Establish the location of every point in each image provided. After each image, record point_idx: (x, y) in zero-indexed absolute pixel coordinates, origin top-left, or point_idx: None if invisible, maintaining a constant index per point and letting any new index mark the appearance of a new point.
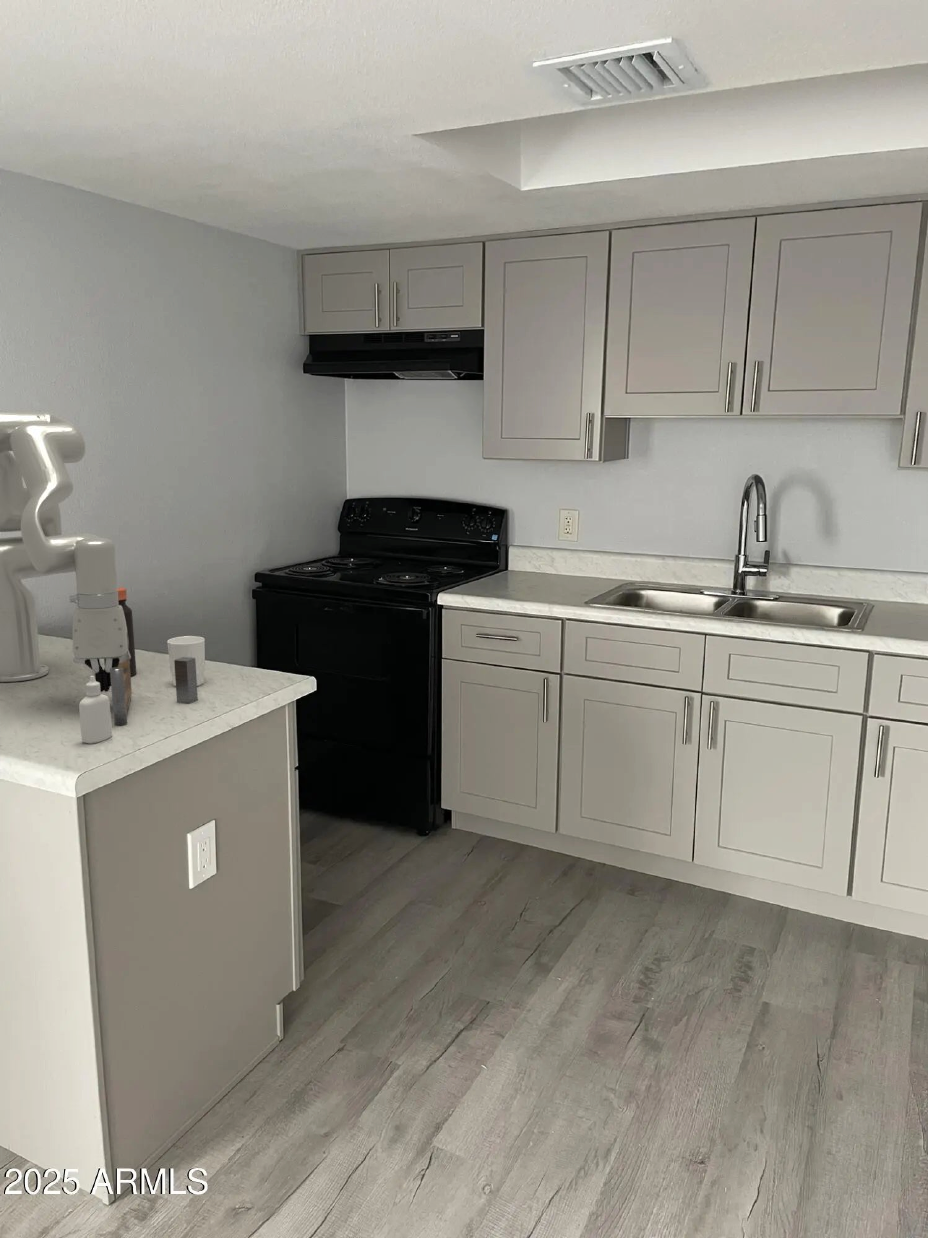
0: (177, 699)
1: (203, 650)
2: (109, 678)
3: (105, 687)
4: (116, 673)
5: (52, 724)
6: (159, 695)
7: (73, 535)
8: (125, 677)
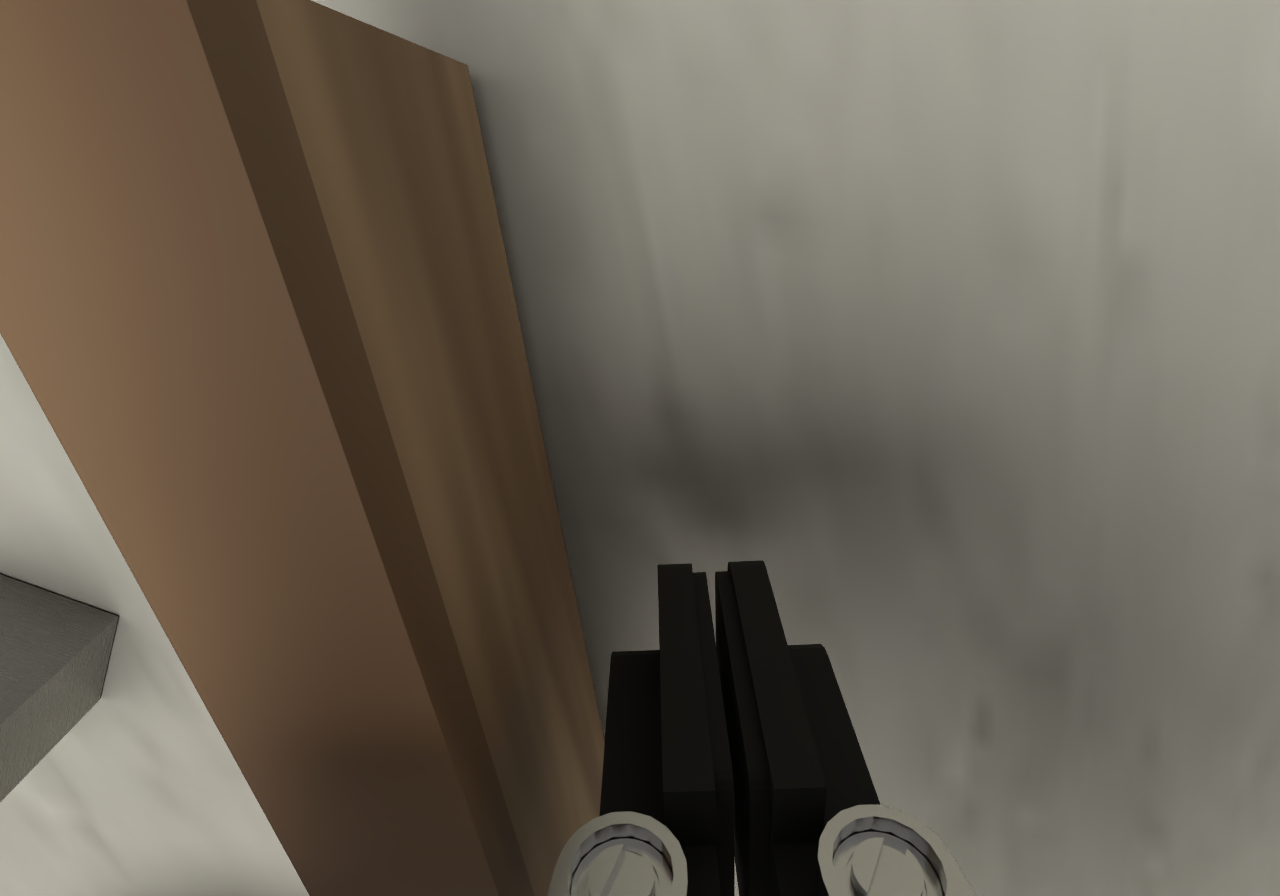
0: (92, 631)
1: None
2: (629, 732)
3: (682, 591)
4: None
5: (1224, 23)
6: None
7: None
8: (110, 470)
